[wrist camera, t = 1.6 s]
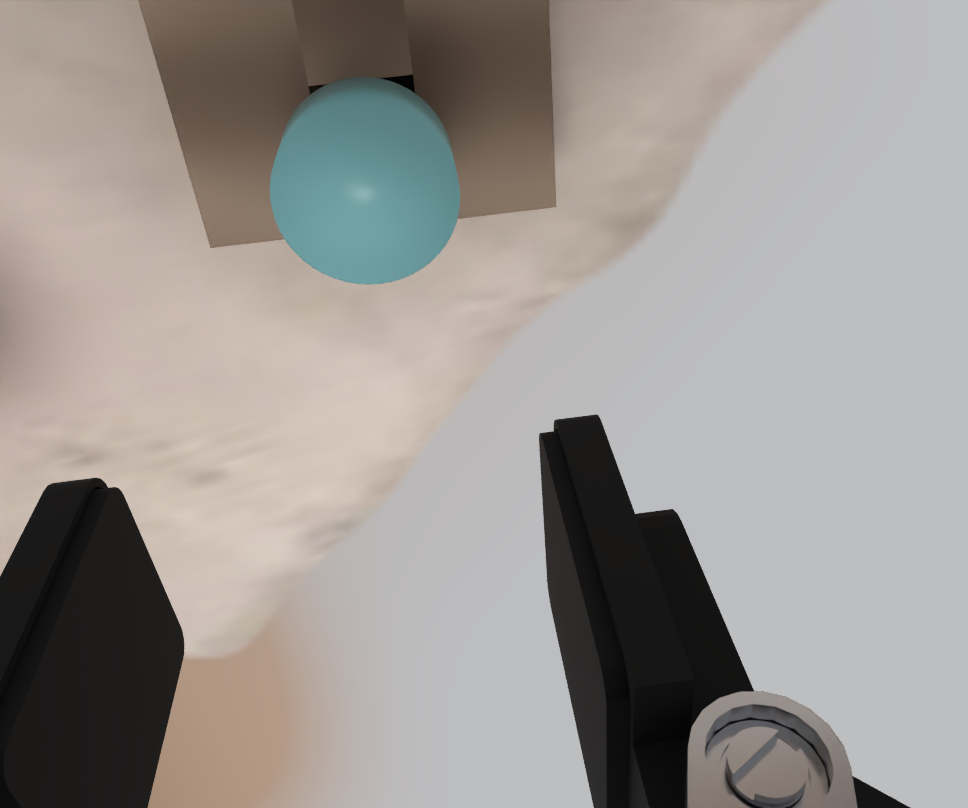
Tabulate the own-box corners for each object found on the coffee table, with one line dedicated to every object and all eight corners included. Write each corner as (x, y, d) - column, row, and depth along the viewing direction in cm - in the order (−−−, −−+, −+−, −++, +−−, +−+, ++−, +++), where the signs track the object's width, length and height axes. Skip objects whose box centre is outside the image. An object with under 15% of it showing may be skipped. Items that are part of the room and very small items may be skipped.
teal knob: (278, 52, 24) (249, 114, 19) (435, 34, 25) (449, 91, 19) (309, 203, 27) (292, 294, 22) (452, 186, 27) (468, 273, 22)
